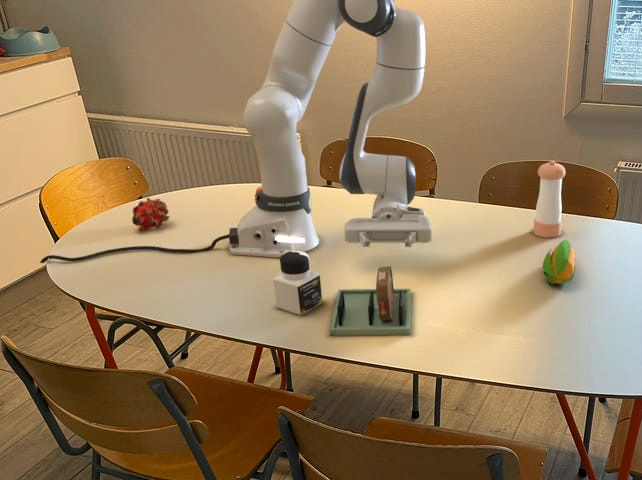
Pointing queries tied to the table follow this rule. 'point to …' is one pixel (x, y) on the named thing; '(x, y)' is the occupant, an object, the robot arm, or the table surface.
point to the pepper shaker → (549, 201)
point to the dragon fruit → (150, 214)
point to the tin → (385, 293)
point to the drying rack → (369, 314)
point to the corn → (559, 263)
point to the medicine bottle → (297, 284)
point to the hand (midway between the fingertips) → (387, 244)
